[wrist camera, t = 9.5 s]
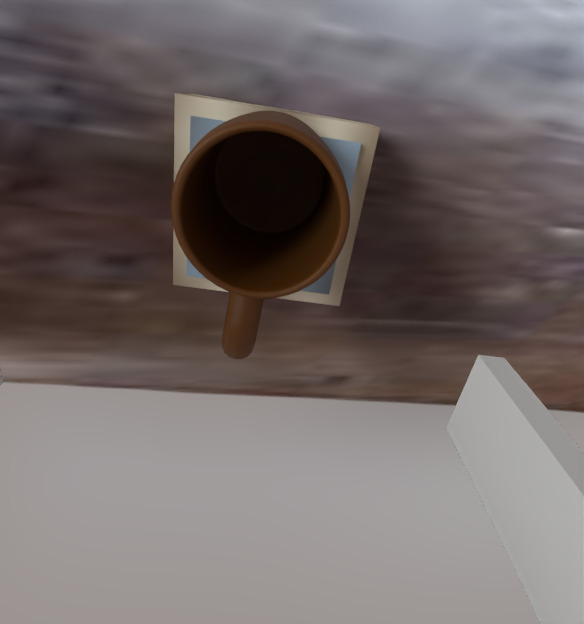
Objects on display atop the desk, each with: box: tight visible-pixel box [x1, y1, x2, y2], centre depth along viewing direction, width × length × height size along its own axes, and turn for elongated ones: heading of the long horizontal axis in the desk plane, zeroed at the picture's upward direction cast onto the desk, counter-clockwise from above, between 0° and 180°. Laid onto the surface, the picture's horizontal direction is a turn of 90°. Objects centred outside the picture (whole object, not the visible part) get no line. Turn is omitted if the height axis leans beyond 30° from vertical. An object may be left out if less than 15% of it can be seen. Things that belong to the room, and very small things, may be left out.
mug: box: [171, 111, 350, 359], centre depth 21 cm, size 12×8×9 cm, turn 168°
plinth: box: [173, 93, 380, 306], centre depth 28 cm, size 12×12×6 cm
